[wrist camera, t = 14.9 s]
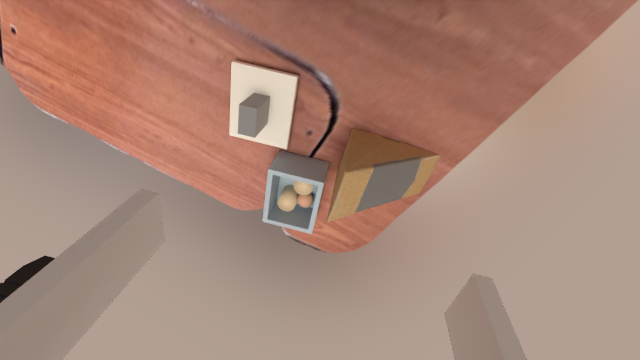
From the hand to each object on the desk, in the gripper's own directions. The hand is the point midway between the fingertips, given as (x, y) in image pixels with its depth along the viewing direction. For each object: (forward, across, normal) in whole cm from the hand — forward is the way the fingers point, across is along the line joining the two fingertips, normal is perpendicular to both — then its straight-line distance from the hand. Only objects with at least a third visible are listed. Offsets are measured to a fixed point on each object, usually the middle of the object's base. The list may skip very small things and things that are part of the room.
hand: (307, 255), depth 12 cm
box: (+37, -5, -21) cm, 43 cm away
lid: (+36, -13, -8) cm, 39 cm away
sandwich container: (+37, +9, -13) cm, 40 cm away
